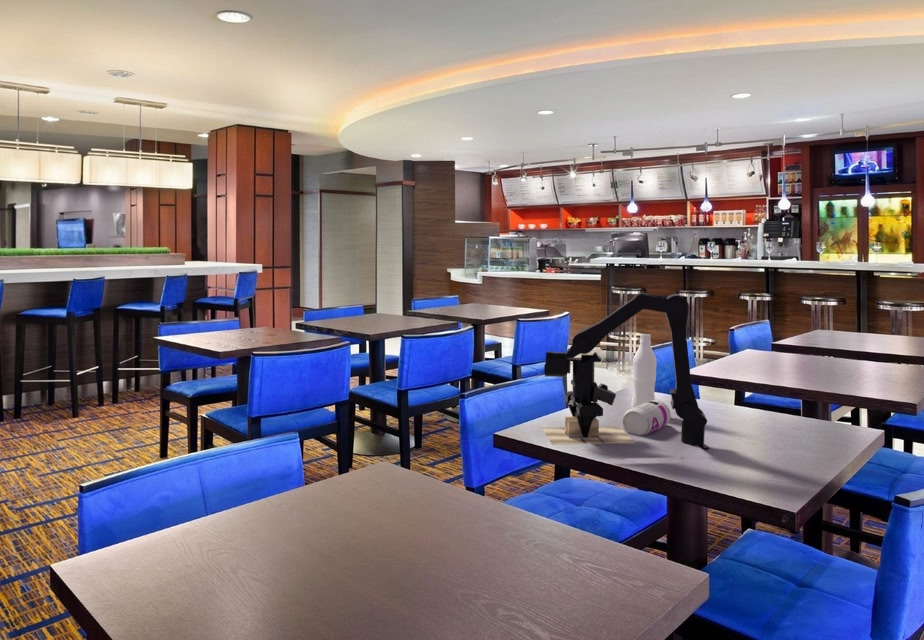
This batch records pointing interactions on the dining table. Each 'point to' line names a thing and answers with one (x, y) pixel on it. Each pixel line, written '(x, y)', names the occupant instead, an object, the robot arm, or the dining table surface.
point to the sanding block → (575, 431)
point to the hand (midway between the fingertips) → (582, 434)
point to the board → (605, 436)
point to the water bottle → (644, 372)
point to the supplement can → (646, 418)
